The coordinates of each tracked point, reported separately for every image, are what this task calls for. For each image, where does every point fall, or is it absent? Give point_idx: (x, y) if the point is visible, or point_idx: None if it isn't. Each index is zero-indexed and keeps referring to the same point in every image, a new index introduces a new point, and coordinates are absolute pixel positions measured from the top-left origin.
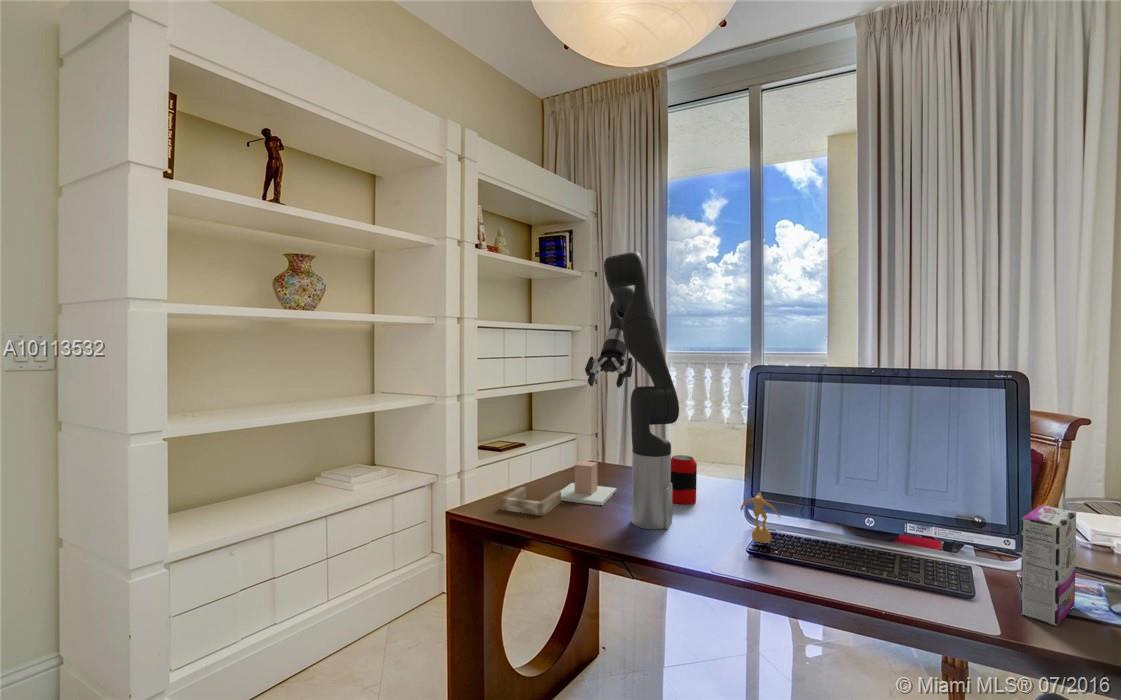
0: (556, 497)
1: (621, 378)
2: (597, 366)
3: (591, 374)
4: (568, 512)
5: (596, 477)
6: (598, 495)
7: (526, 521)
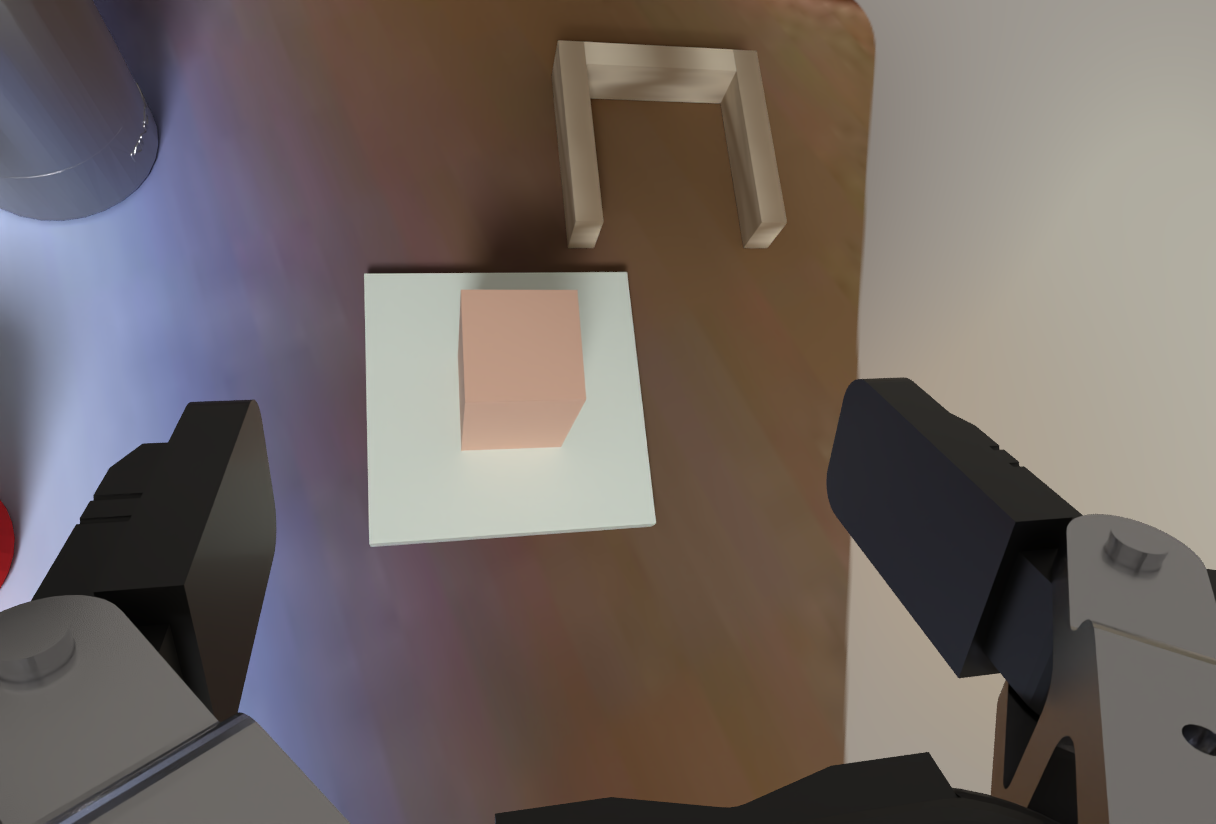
0: (569, 177)
1: (105, 533)
2: (1128, 641)
3: (1024, 484)
4: (476, 147)
5: (462, 412)
6: (419, 364)
7: (580, 8)
